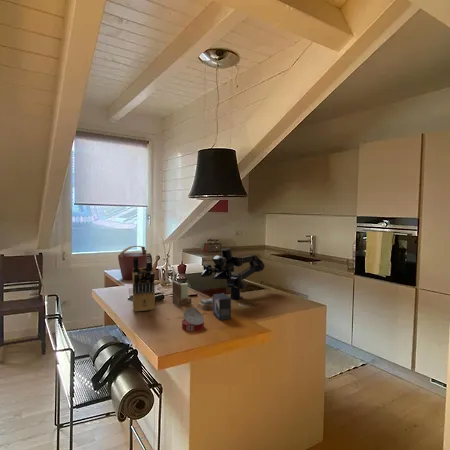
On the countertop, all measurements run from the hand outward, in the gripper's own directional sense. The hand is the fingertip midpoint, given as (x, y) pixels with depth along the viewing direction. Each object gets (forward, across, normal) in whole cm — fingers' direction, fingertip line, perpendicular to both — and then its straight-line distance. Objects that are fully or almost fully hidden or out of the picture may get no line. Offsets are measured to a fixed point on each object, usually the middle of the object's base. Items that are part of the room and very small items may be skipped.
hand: (207, 277), depth 181 cm
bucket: (-16, -95, +21) cm, 98 cm away
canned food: (+31, +17, +10) cm, 36 cm away
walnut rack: (+9, -12, +15) cm, 21 cm away
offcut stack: (+6, +2, +16) cm, 17 cm away
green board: (+9, -12, +14) cm, 21 cm away
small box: (+11, +16, +15) cm, 25 cm away
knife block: (+26, -26, +11) cm, 38 cm away
